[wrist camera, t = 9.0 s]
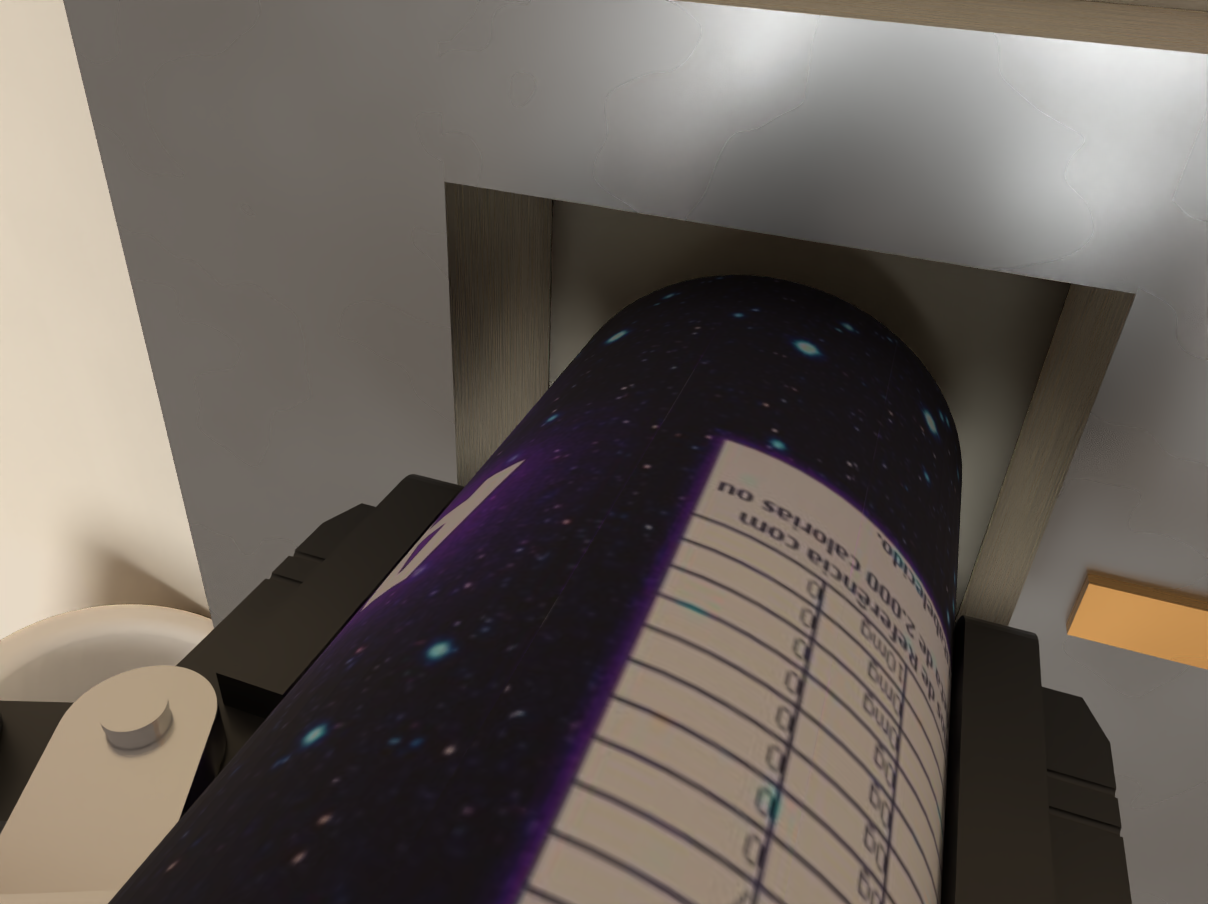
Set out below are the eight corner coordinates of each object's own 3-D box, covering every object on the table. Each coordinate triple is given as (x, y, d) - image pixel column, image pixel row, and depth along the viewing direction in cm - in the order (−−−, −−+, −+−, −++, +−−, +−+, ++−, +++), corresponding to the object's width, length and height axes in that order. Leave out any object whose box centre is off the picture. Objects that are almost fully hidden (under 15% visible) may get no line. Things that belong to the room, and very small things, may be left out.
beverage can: (632, 191, 13) (-480, 1188, 3) (1042, 342, 12) (1256, 2330, 2) (550, 503, 16) (-115, 1456, 6) (866, 638, 15) (649, 1964, 6)
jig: (1722, 59, 10) (2053, 144, 7) (1234, 803, 16) (1290, 1015, 13) (235, -77, 14) (34, -62, 11) (324, 547, 21) (213, 662, 18)
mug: (74, 739, 29) (-181, 981, 23) (113, 544, 23) (-216, 799, 17) (394, 949, 29) (228, 1250, 23) (515, 808, 23) (336, 1162, 17)
